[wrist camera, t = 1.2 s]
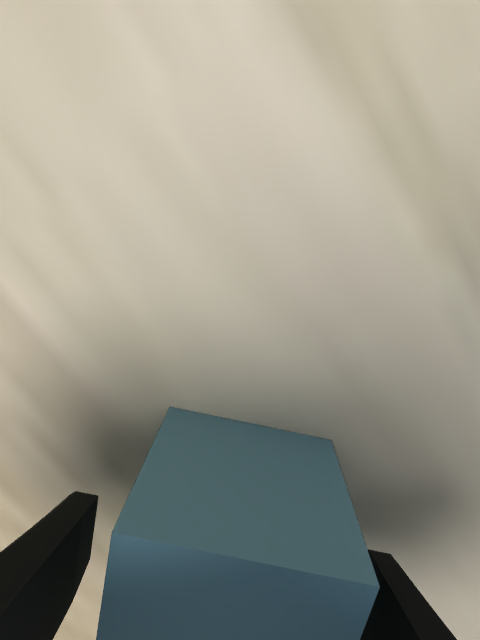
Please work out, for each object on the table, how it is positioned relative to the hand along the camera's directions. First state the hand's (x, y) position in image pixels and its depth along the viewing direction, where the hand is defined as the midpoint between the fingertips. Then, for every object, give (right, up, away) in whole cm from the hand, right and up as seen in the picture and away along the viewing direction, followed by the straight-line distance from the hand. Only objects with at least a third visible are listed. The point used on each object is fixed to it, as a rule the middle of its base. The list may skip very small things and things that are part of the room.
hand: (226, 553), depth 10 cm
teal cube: (0, +1, +2) cm, 2 cm away
